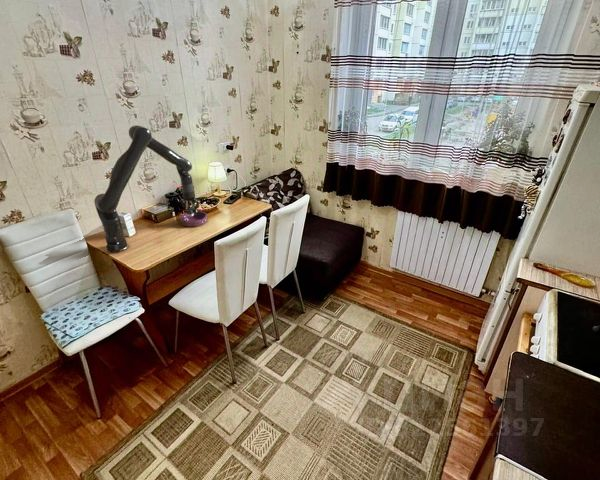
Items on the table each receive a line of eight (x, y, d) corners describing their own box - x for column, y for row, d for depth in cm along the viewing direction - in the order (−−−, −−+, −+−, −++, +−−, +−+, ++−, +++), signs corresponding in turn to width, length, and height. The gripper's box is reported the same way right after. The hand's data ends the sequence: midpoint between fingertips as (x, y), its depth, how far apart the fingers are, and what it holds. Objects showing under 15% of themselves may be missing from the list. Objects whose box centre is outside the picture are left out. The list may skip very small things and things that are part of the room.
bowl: (201, 228, 206) (200, 222, 204) (177, 226, 208) (176, 220, 206) (211, 217, 221) (210, 212, 219) (188, 216, 223) (187, 210, 221)
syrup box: (136, 233, 198) (130, 212, 191) (129, 237, 193) (123, 216, 186) (129, 231, 199) (123, 211, 193) (122, 235, 194) (115, 215, 188)
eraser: (192, 216, 206) (191, 211, 204) (187, 216, 206) (186, 210, 204) (197, 211, 213) (196, 206, 211) (192, 211, 213) (191, 206, 211)
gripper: (175, 191, 199) (179, 215, 207) (195, 192, 197) (199, 216, 206) (180, 187, 205) (184, 211, 214) (200, 188, 204) (204, 212, 212)
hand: (192, 213), depth 210 cm, fingers closed on eraser, 3 cm apart
